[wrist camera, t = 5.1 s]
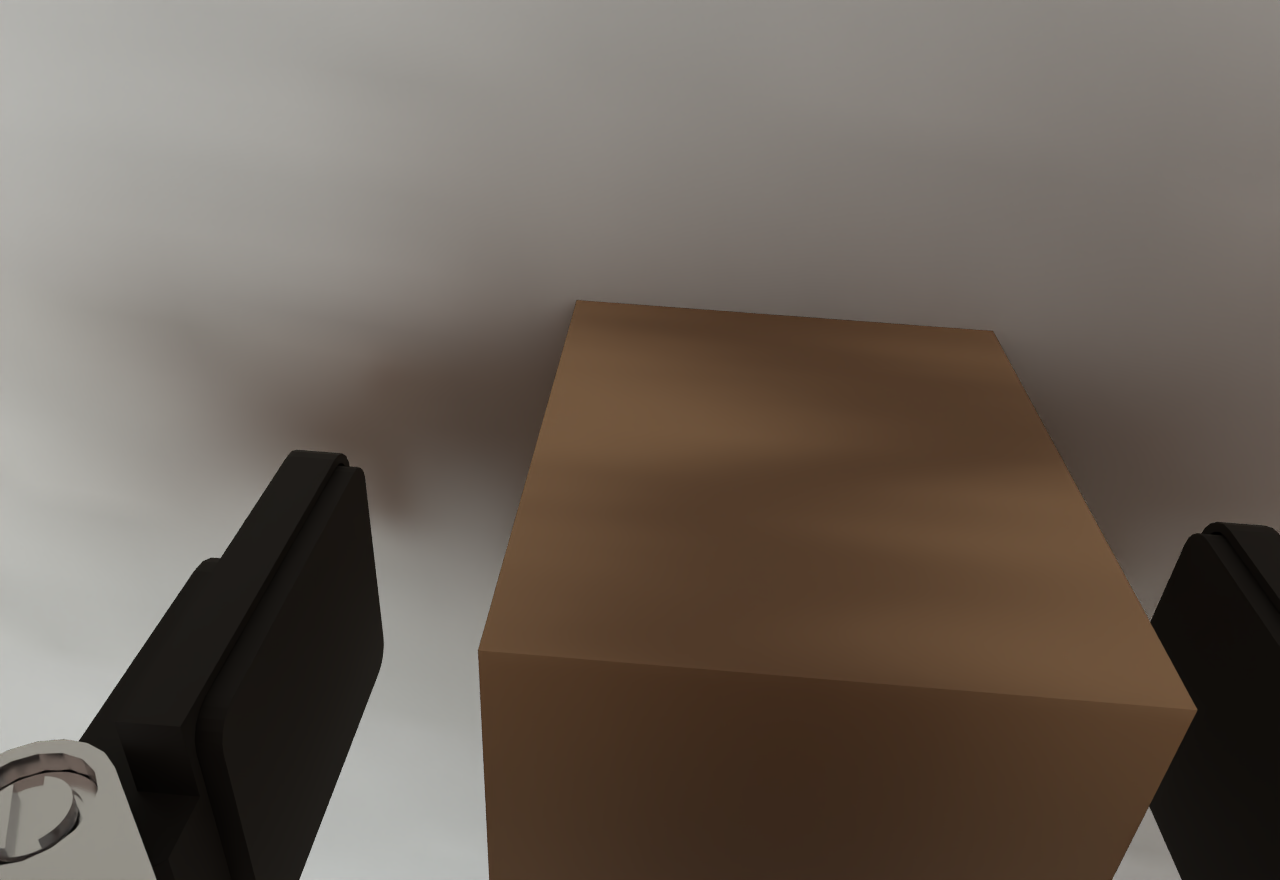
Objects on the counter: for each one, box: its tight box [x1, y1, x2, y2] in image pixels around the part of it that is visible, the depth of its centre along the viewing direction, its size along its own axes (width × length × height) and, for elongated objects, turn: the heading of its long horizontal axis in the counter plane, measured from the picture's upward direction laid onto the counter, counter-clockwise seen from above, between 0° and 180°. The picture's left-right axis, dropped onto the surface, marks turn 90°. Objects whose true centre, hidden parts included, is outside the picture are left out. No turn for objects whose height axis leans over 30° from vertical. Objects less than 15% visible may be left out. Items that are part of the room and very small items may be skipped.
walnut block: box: [478, 300, 1197, 880], centre depth 11 cm, size 5×5×6 cm
